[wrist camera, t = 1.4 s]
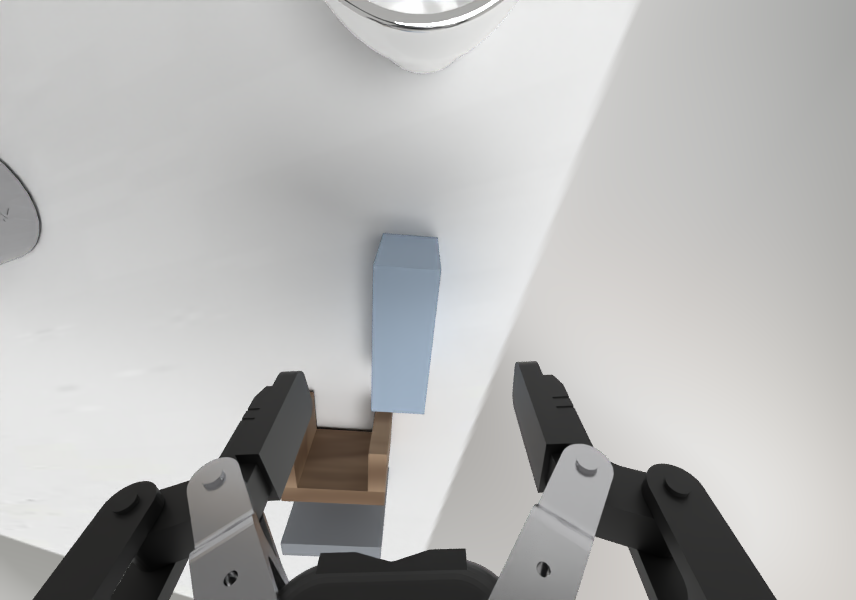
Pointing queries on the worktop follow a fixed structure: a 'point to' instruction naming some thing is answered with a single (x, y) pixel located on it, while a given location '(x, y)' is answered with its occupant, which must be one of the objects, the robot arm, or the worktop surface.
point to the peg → (403, 321)
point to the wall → (334, 528)
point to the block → (341, 464)
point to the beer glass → (421, 28)
